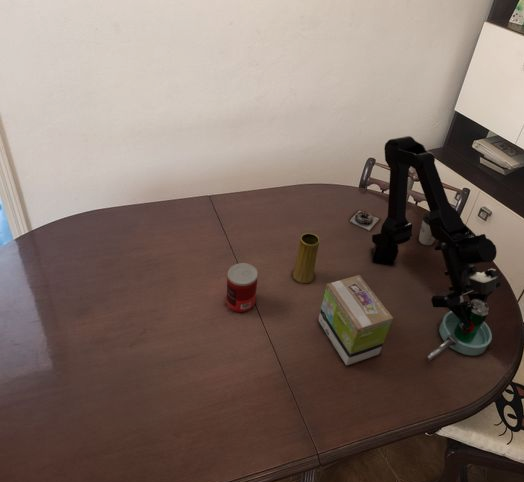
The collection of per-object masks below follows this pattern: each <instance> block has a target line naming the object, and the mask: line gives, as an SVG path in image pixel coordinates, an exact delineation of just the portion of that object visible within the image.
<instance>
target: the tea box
mask: <svg viewBox="0 0 524 482" xmlns="http://www.w3.org/2000/svg"><path fill="white" fill-rule="evenodd" d="M393 320H394V317H393V316H392V314H391V313H390V312H389V311H388V309H387V308H386V307H385V306H384V305H383V303H382V302H381V301H380V299H379V298H378V297H377V295H376V294H375V293H374V291H373V290H372V289H371V288H370V287H369V285H368V284H367V283H366V281H365V279H363V277H362V276H361V275H360V274H357V275H354V276H351V277H347V278H343V279H340V280H336V281H332V282H329V283H326V286H325V289H324V295H323V298H322V303H321V306H320V311H319V316H318V322H319V324H320V325H321V328H322V329H323V330H324V332H325V334H326V336H327V338H328V339H329V340H330V342H331V344H332V345H333V347H334V348H335V350H336V352H337V353H338V355H339V357H340V359H341V360H342V361H343V363H344V364H345V366H349V365H352V364H355V363H358V362H362V361H364V360H366V359H370V358H373V357H376V356H378V355H380V353H381V350H382V348H383V345H384V342H385V340H386V338H387V335H388V332H389V330H390V327H391V325H392V322H393Z"/></svg>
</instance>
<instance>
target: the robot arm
mask: <svg viewBox="0 0 524 482" xmlns="http://www.w3.org/2000/svg"><path fill="white" fill-rule="evenodd" d="M383 148H384V150H383V151H384V160H385V162H386V164H387V166H388V168H389V187H388V204H387V205H388V206H387V216H386V218H385V220H384V221H383V223H382V225H381V229H380V232H378V233H374V234H372V235H371V241H372V243H373V244H374V246H373V247H372V249H371V258H372V263H374V264H379V265H380V264H381V265H386V266H395V261H396V259H397V256H398V254H399V245H403V244H405V243H407V242H409V241H410V240H411V237H413V223H410V222H409V220H408V219H407V217H406V212H407V202H408V201H407V200H408V199H407V198H408V187H409V185H408V184H409V173H410V172H409V171H410V168H412V169H414V170H415V173H416V176H417V178H418V181H419V183H420V186H421V189H422V192H423V195H424V197H425V200H426V203H427V206H428V209H429V212H430V214H429V220H428V221H429V226H430V230H431V234H432V236H433V237H434V238H436V239H435V240H436V241H437V244H436V245H435V247H434V249H433V250H434V251H441V253H442V258H443V261H444V264H445V267H446V270H445V271H443V273H444V276H448V278H449V281H450V284H451V285H450V286H448V290H449V291H441V292H439V293H437V294H434V295H432V296H431V299H430V301H431V304H432V307H433V308H447V309H449V310H450V311H452V312H453V313H454V314H455V315H456V316H457V317H458V319H459V320H460V321H461V322H462V323H463V324H464V325H465V327H466V328H470V321H469V317H468V313H467V309H466V307H467V304H468V303H469V302H470V301H472V300H473V299H480V300H482V301H484V302H485V303H486V304H487V300H488V298H489V297H490V295H491V294H493V292H495V291H496V290H497V288H500V287H502V285H501V279H500V276H499V273H498V270H497V269H495V268H489V269H487V270H486V271H482V272H479V271H478V269H477V266H476V265H474V264H484V263H485V264H487V263H492V262H494V261H495V259H496V257H497V253H498V252H497V251H498V250H497V246H496V244H494V242H493V241H492V240H491V239H490V238H487V235H486V234H485V233H480V234H477V235H476V233H475V232H473V230H472V229H470V227H469V226H468V225H466V223H464V221H463V219H462V217H461V214H460V213H459V212H458V211H457V210H456V209H455V208H454V207H453V206H452V205H451V203H450V201H449V199H448V197H447V193H446V190H445V188H444V186H443V183H442V180H441V177H440V174H439V171H438V168H437V166H436V163H435V161H436V158H435V155H434V154H433V153H432V152H430V151H429V150H427V149H426V147H425V145H424V144H422V143H420V142H419V141H417V140H415V138H414V137H413V136H411V135H406V136H401V137H395V138H390V139H389V140H387V141H386V142H385V144H384V147H383ZM466 296H467V297H468V298H469V300H470V301H465V300H464V297H466ZM485 321H486V319H485V320H484V322H485Z"/></svg>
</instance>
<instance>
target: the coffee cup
mask: <svg viewBox="0 0 524 482" xmlns="http://www.w3.org/2000/svg"><path fill="white" fill-rule="evenodd" d="M429 214H430V211H429V212H427V213H425V214H424V215H423V216H422V222H421V225H420V226H421V227H420V231H419V237H418V241H419V243H420V244H421V245H424V246H431V245H433V244H434V242H435V241H436V240H437V239H436V238H434V237H433V236H432V234H431V230H430V226H429V221H428V220H429Z"/></svg>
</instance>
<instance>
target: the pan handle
mask: <svg viewBox="0 0 524 482" xmlns="http://www.w3.org/2000/svg"><path fill="white" fill-rule="evenodd" d="M457 342H458V340H457V339H456V338H455V337H453V336H452V335H451V334H450V335H449V336H448V337H447V339H446V341H443V342H442V343H441V344H440V345H439V346H437V347H436V348H434V349H433V350H432V351H430V352H429V353H428V354H427V355H426V356H425V359H426V361H428V362H429V361H433V360H434V359H435V358H436V357H437V356H438V355H440V354H441V353H443V352H444V351H445V350H446V349H448V348H450V345H452V346H455V345H456V344H457Z"/></svg>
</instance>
